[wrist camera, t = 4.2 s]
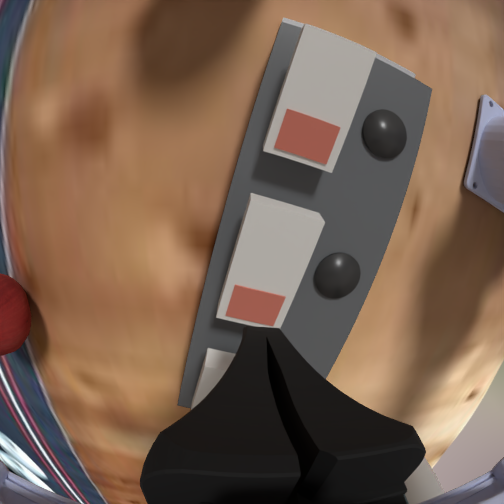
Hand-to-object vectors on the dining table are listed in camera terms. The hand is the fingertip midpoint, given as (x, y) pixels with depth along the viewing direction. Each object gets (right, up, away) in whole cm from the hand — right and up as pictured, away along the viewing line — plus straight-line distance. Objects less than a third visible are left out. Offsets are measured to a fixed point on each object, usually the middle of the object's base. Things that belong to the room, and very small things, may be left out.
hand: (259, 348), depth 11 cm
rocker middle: (0, +3, +3) cm, 4 cm away
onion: (-19, 0, +8) cm, 20 cm away
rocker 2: (+3, +10, 0) cm, 11 cm away
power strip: (+2, +4, +7) cm, 9 cm away
